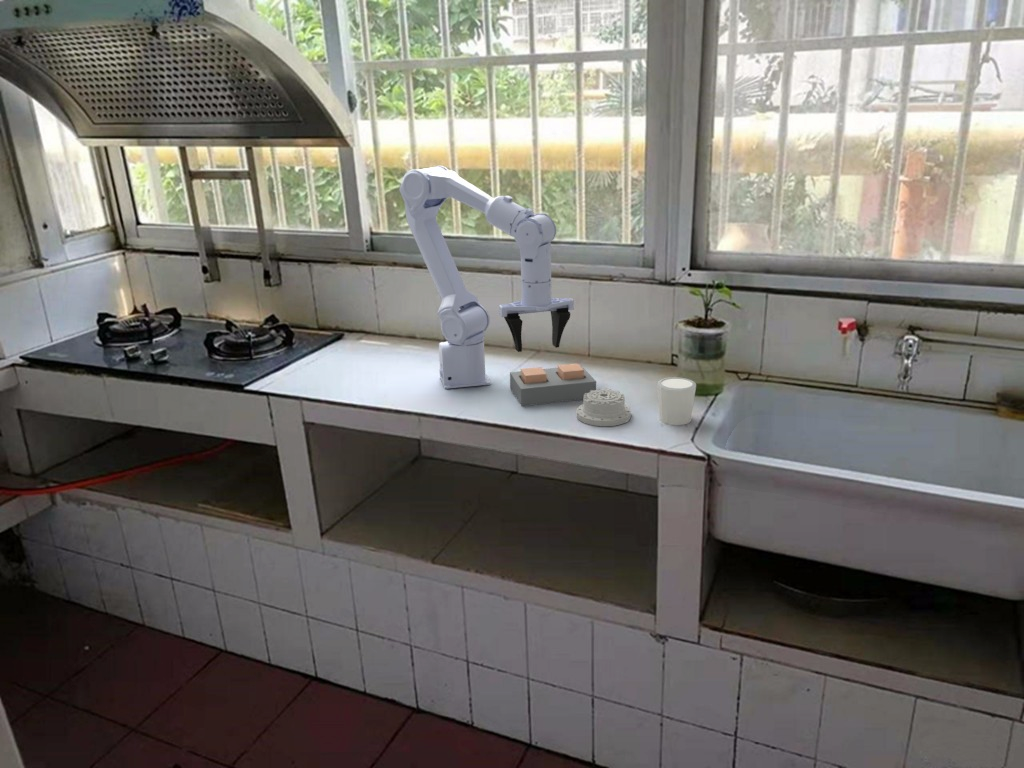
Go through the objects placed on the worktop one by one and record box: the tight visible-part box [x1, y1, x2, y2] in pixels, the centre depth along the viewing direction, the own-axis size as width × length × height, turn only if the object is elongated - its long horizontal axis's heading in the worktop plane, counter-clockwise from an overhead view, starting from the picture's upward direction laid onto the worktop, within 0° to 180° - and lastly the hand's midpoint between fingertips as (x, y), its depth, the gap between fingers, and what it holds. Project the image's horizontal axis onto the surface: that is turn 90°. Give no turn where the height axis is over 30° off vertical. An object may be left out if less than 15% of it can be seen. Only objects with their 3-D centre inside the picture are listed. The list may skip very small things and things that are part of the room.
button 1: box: [520, 366, 547, 384], centre depth 157 cm, size 4×4×3 cm
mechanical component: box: [576, 388, 632, 427], centre depth 146 cm, size 10×4×10 cm
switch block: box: [509, 364, 597, 407], centre depth 158 cm, size 15×10×4 cm, turn 102°
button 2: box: [557, 363, 584, 380], centre depth 158 cm, size 4×4×3 cm
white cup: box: [657, 376, 697, 426], centre depth 143 cm, size 7×7×7 cm
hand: (537, 348), depth 156 cm, fingers open, 7 cm apart
